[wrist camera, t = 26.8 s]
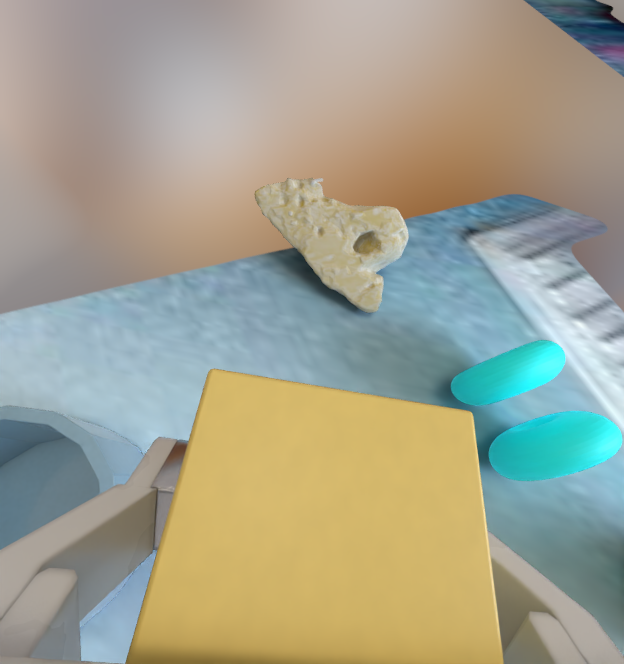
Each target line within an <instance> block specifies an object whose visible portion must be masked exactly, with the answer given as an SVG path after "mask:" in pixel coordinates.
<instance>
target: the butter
mask: <svg viewBox="0 0 624 664" xmlns="http://www.w3.org/2000/svg"><path fill="white" fill-rule="evenodd" d="M125 664H504V661H503V653H502V645H501V637H500V628H499V620H498V612H497V604H496V596H495V588H494V580H493V572H492V564H491V556H490V548H489V540H488V532H487V523H486V515H485V507H484V499H483V491H482V483H481V475H480V467H479V459H478V451H477V443H476V435H475V427H474V419H473V414H472V412H470V411H467V410H461V409H455V408H449V407H443V406H436V405H430V404H424V403H418V402H412V401H406V400H400V399H394V398H388V397H382V396H376V395H370V394H364V393H358V392H352V391H346V390H340V389H334V388H328V387H322V386H316V385H310V384H304V383H298V382H292V381H286V380H280V379H274V378H268V377H262V376H256V375H250V374H243V373H237V372H231V371H225V370H219V369H211V370H210V371H209V372H208V374H207V378H206V381H205V385H204V388H203V392H202V395H201V399H200V403H199V406H198V410H197V413H196V417H195V420H194V424H193V427H192V431H191V434H190V438H189V441H188V445H187V448H186V452H185V455H184V459H183V462H182V466H181V469H180V473H179V476H178V480H177V484H176V487H175V491H174V494H173V498H172V501H171V505H170V508H169V512H168V515H167V519H166V522H165V526H164V529H163V533H162V536H161V540H160V543H159V547H158V550H157V554H156V557H155V561H154V565H153V568H152V572H151V575H150V579H149V582H148V586H147V589H146V593H145V596H144V600H143V603H142V607H141V610H140V614H139V617H138V621H137V624H136V628H135V631H134V635H133V638H132V642H131V646H130V649H129V653H128V656H127V660H126V663H125Z"/></svg>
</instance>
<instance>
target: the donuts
mask: <svg viewBox="0 0 624 664" xmlns="http://www.w3.org/2000/svg"><path fill="white" fill-rule="evenodd" d="M564 364H565V354H564V351H563V350H562V348H561V347H560V346H559V345H558V344H556V343H554V342H552V341H548V340H538V341H534V342H531V343H528V344H525V345H523V346H520V347H518V348H515V349H512V350H510V351H508V352H505V353H503V354H501V355H498V356H496V357H494V358H491V359H489V360H487V361H484V362H482V363H480V364H478V365H476V366H474V367H471V368H469V369H467V370H465V371H463V372H461V373H460V374H458V375H457V376H455V377H454V379H453V380H452V383H451V390H452V393H453V395H454V396H455V397H456V398H457V399H458V400H459V401H461V402H463V403H466V404H469V405H487V404H492V403H495V402H498V401H501V400H504V399H507V398H510V397H513V396H516V395H518V394H521V393H524V392H526V391H529V390H531V389H534V388H536V387H538V386H541V385H543V384H545V383H547V382H549V381H550V380H552V379H553V378H554V377H556V376H557V375H558V374H559V372H560V371H561V370H562V368H563V366H564ZM621 444H622V435H621V432H620V430H619V429H618V427H617V426H616V425H615V424H614V423H613V422H612V421H610V420H609V419H607V418H606V417H603V416H601V415H599V414H595V413H592V412H586V411H566V412H560V413H554V414H550V415H546V416H543V417H539V418H536V419H533V420H530V421H527V422H524V423H522V424H519V425H517V426H514V427H512V428H510V429H508V430H506V431H505V432H503V433H502V434H500V435H499V436H498V437H497V438H496V439H495V440H494V441H493V443H492V444H491V446H490V449H489V460H490V463H491V465H492V467H493V468H494V469H495V470H496V471H497V472H498V473H499V474H500V475H502V476H504V477H506V478H509V479H512V480H518V481H534V480H545V479H551V478H556V477H561V476H565V475H569V474H573V473H576V472H580V471H583V470H585V469H588V468H591V467H593V466H596V465H598V464H600V463H602V462H604V461H606V460H608V459H609V458H611V457H612V456H613V455H614V454H616V453H617V451H618V450H619V449H620V447H621Z"/></svg>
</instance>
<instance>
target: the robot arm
mask: <svg viewBox="0 0 624 664" xmlns="http://www.w3.org/2000/svg"><path fill="white" fill-rule="evenodd" d="M187 445H188V441H185V440H177V439H171V438H165V437H159V438H157V439H156V440H155V441H154V442H153V444H152V445H151V447H150V448H149V449H148V451H147V452H146V454H145V455H144V457H143V458H142V460H141V461H140V463H139V464H138V466H137V467H136V469H135V470H134V472H133V473H132V475H131V476H130V477H129V479H128V480H127V482H126V483H125V485H123V484H117V485H115V486H113V487H112V488H110V489H108V490H106V491H105V492H103V493H101V494H99V495H97V496H96V497H94V498H92V499H90V500H88V501H87V502H85V503H83V504H81V505H80V506H78V507H76V508H74V509H72V510H71V511H69V512H67V513H65V514H63V515H62V516H60V517H58V518H56V519H54V520H53V521H51V522H49V523H47V524H46V525H44V526H42V527H40V528H38V529H37V530H35V531H33V532H31V533H29V534H28V535H26V536H24V537H22V538H20V539H19V540H17V541H15V542H13V543H12V544H10V545H8V546H6V547H4V548H3V549H1V550H0V664H121V663H105V662H89V661H81V646H80V621H81V620H82V619H83V618H84V617H85V616H86V615H87V614H88V613H89V612H90V611H92V610H93V609H94V608H95V607H96V606H97V605H98V604H99V603H100V602H101V601H102V600H103V599H104V598H105V597H106V596H107V595H108V594H109V593H110V592H111V591H113V590H114V589H115V588H116V587H117V586H118V585H119V584H120V583H121V582H122V581H123V580H124V579H125V578H126V577H127V576H128V575H129V574H130V573H131V572H132V571H134V570H135V569H136V568H137V567H138V566H139V565H140V564H141V563H142V562H143V561H144V560H145V559H146V558H147V557H148V556H149V555H150V554H151V553H152V552H153V550H158V547H159V543H160V540H161V536H162V533H163V529H164V526H165V522H166V519H167V515H168V512H169V508H170V505H171V501H172V498H173V494H174V491H175V487H176V484H177V480H178V476H179V473H180V469H181V466H182V462H183V459H184V455H185V452H186V448H187ZM487 532H488V540H489V548H490V556H491V564H492V572H493V580H494V588H495V596H496V604H497V612H498V620H499V628H500V637H501V645H502V653H503V661H504V664H624V656H623V655H622V653H621V652H620V651H619V649H618V648H617V647H616V646H615V644H614V643H613V642H612V640H611V639H610V638H609V636H608V635H607V634H606V632H605V631H604V630H603V628H602V627H601V626H600V624H599V623H598V622H597V621H596V619H595V618H594V617H593V615H591V614H590V613H589V612H588V611H586V610H585V609H584V608H583V607H582V606H580V605H579V604H578V603H577V602H575V601H574V600H573V599H572V598H570V597H569V596H568V595H567V594H566V593H564V592H563V591H562V590H561V589H559V588H558V587H557V586H556V585H554V584H553V583H552V582H551V581H550V580H548V579H547V578H546V577H545V576H543V575H542V574H541V573H540V572H538V571H537V570H536V569H535V568H534V567H532V566H531V565H530V564H529V563H527V562H526V561H525V560H524V559H522V558H521V557H520V556H519V555H518V554H516V553H515V552H514V551H513V550H511V549H510V548H509V547H508V546H506V545H505V544H504V543H503V542H502V541H500V540H499V539H498V538H497V537H495V536H494V535H493V534H492V533H490V532H489V531H488V530H487Z"/></svg>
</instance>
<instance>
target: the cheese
mask: <svg viewBox="0 0 624 664" xmlns="http://www.w3.org/2000/svg"><path fill="white" fill-rule="evenodd" d="M318 181H323V179H322V178H320V179H315V180H314V179H313V178H309V179H304V180H295V179H291V178H287V180H286V181H285V182H281V183H276V184H272V185H266V186H264V187H262V188H260V189H258V190H257V191H255V199H256V201H257V204H258V205H259V207H260V208H261V211H262V214H263V215H264V216H266V217H267V218H268V219H269V220H270V221H271V223H272V224H273V225H274V226H275V227H276V228H277V229H278V230H279V231H280V232H281V234H282V235H283V237H284V238H285V239H286V240H287V241H288V242H289V243H290V244H291V245H292V246H293V247H294V248H297V249H298V252H300V253H301V254H302V255H303V256H304V258H305V260H306V262H307V263H308V264H309V265H310V267H311V268H312V269H313V270H314V272H315V274H317V275H318V276H319V277H320V279H321V281H322V283H323V284H325V285H326V286H327V287H328V288H330V289H333V290H336V291H337V292H338V293H340V294H342V295H344V296H345V297H346V298H347V299H348V300H349V301H350V302H351V303H352V304H354V305H355V306H357V307H358V308H359V309H360V310H362V311H364V312H366V313H373V312H376V311H378V308H379V305H380V303H381V302H382V291H383V277H382V276H380V275H378V274H375V273H376V272H377V271H379V270H380V269H382V268H384V267H386V266H387V265H388V264H390V263H392V262H394V261H396V260H397V259H399V258H400V257H401V254H402V252H403V250H404V248H405V246H406V244H407V241H408V237H409V235H408V230H407V227H406V225H405V221H404V219H403V218H402V216H401V215H400V213H399V211H398V210H397V209H396V208H393V207H387V206H368V207H367V206H359V205H358V206H349V205H346V204H344V203H342V202H339V201H336V200H335V199H332V198H328V197H325V196H324V195H323V192H322V186H321V185H320V184H319V183H318Z"/></svg>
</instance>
